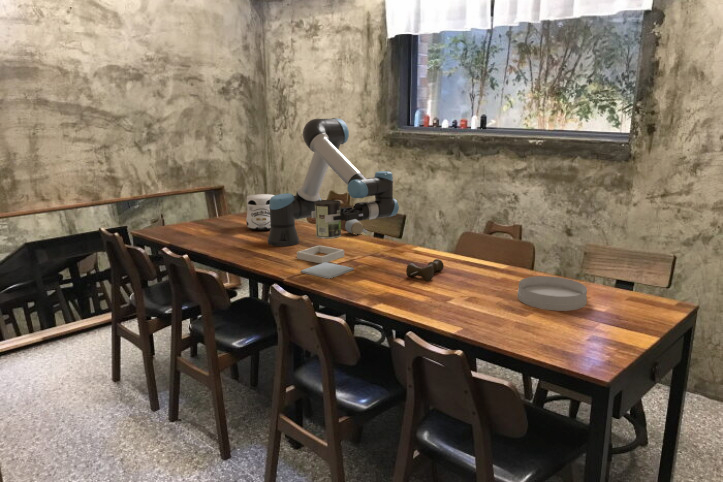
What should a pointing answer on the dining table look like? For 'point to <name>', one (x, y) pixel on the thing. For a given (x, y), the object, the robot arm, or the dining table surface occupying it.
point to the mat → (327, 270)
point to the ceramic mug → (354, 227)
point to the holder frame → (309, 252)
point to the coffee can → (327, 228)
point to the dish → (552, 293)
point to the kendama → (425, 269)
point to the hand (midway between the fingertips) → (318, 216)
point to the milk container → (258, 211)
